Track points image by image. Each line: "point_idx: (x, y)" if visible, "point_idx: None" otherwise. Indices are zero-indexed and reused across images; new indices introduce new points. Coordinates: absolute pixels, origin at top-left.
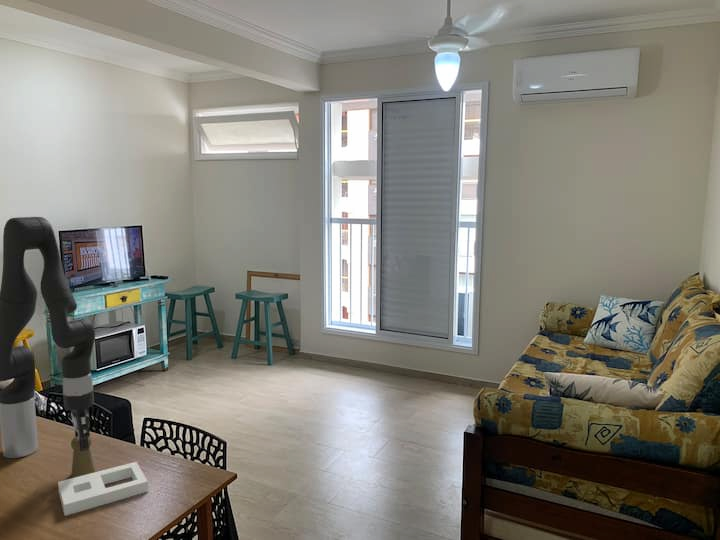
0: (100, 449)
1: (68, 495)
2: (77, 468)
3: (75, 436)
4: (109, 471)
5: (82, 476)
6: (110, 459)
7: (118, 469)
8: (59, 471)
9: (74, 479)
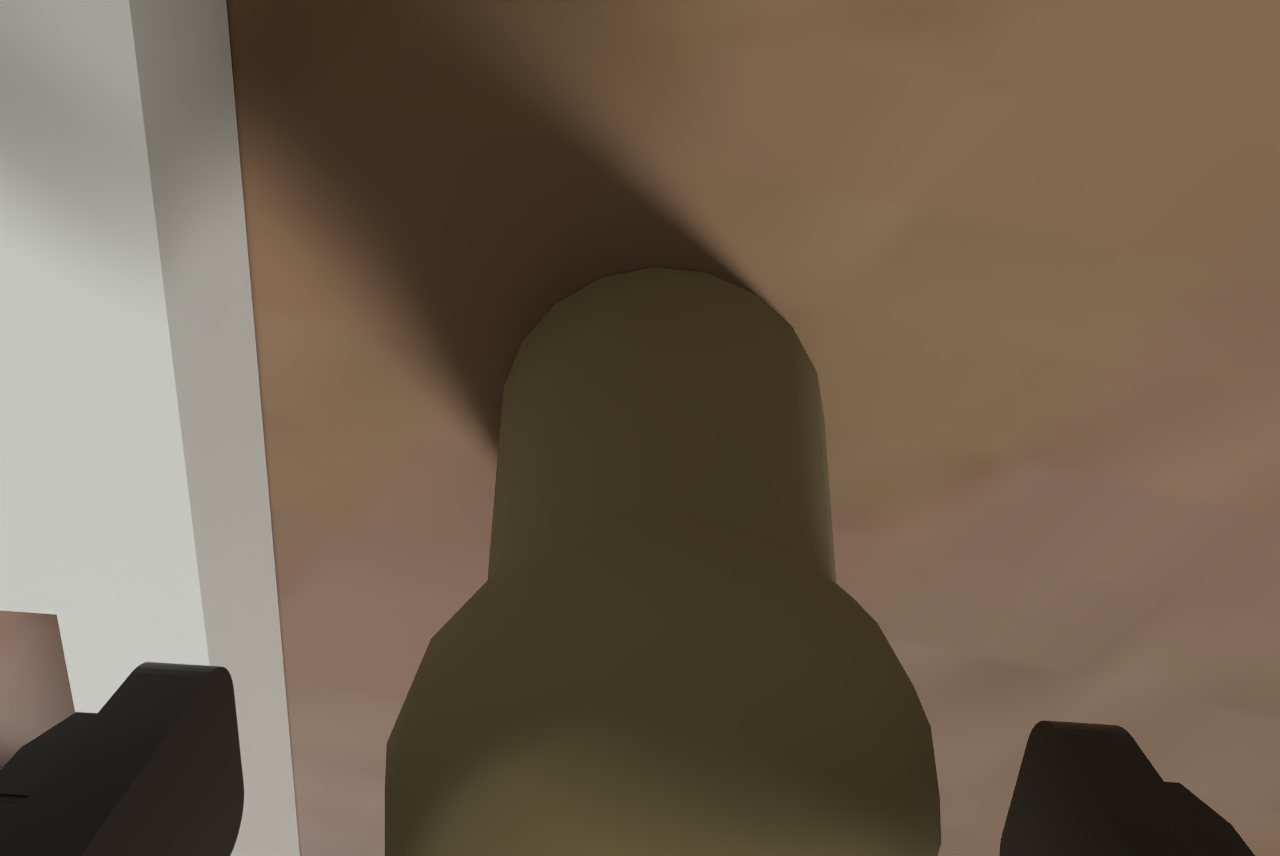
0: (1245, 761)
1: None
2: (535, 389)
3: (1106, 784)
4: None
5: (142, 393)
6: None
7: None
8: (979, 140)
9: (86, 259)
